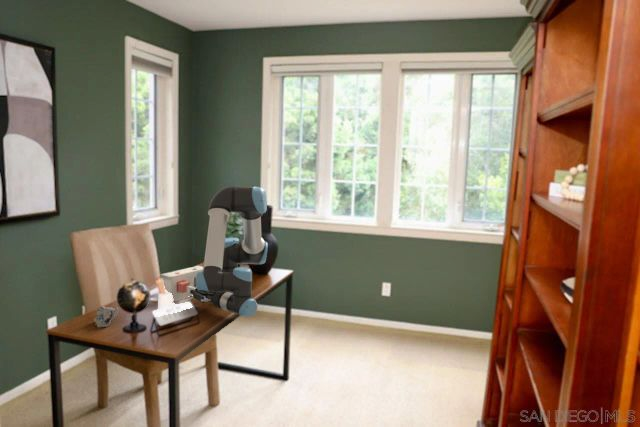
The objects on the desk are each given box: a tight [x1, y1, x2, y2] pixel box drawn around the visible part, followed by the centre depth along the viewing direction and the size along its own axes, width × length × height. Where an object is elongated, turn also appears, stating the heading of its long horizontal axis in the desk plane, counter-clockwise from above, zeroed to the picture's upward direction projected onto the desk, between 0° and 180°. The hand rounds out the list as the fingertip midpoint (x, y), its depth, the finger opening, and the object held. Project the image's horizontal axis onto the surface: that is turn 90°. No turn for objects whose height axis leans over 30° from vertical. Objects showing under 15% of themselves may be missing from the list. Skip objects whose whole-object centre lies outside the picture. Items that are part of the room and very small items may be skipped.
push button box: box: [159, 265, 204, 303], centre depth 221 cm, size 30×7×12 cm, turn 145°
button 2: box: [177, 281, 190, 293], centre depth 211 cm, size 4×6×4 cm
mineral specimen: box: [94, 305, 120, 329], centre depth 181 cm, size 10×8×10 cm
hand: (188, 289), depth 208 cm, fingers closed
